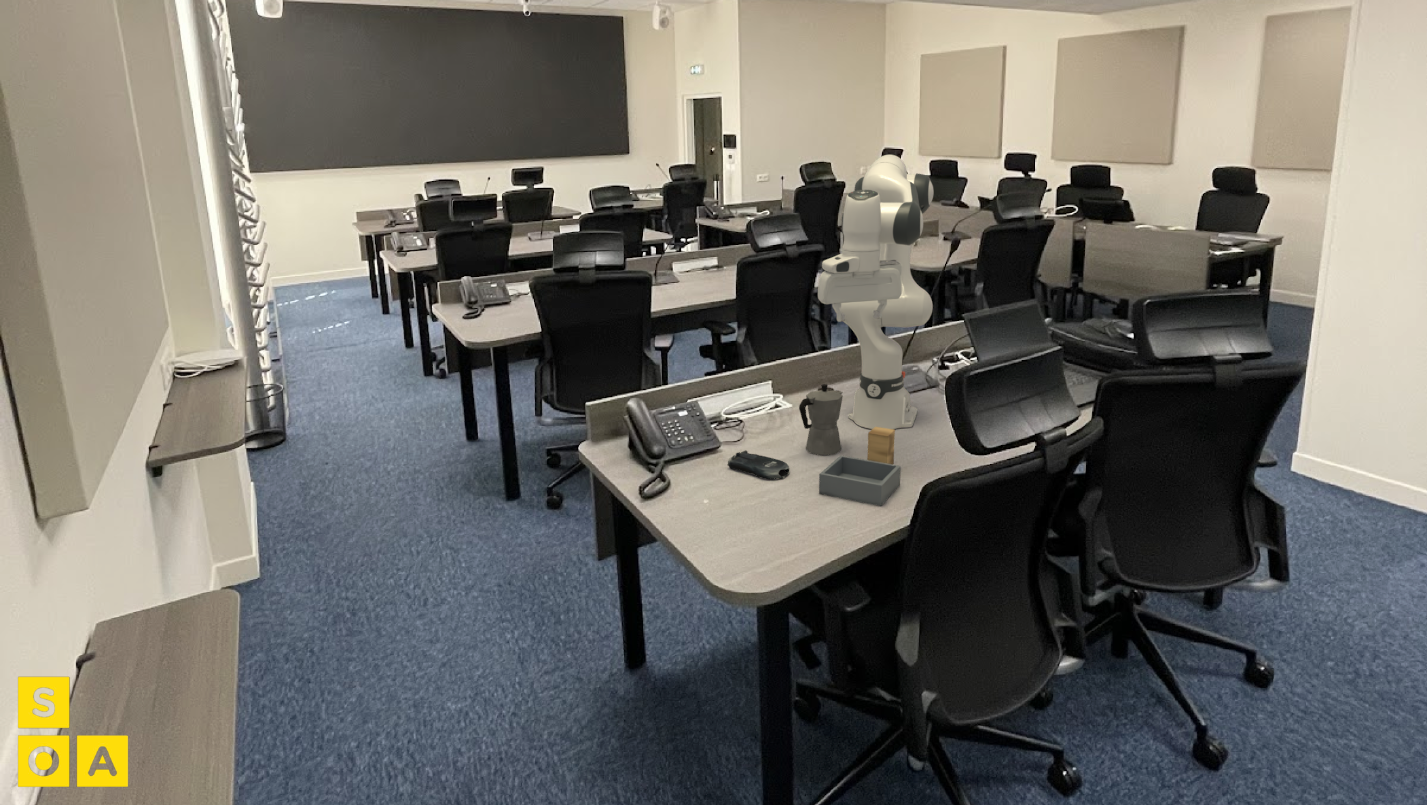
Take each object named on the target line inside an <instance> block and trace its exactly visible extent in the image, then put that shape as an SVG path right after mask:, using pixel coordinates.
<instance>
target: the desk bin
mask: <svg viewBox="0 0 1427 805" xmlns="http://www.w3.org/2000/svg"><path fill="white" fill-rule="evenodd" d="M818 476H819V478H818V481H819V482H818V494H819V495H824V496H828V497H834V498H839V499H843V500H847V501H848V500H849V501H853V502H858V503H863V504H868V505H874V506H878V507H882V506H883V505H884V504H885V502H886V501H887V500H888V499H889V498H890V497H891V496H892V495H893V493H895V491H896V490H897V489H898V488H899V487H900V485H901V484H900V483H901V465H897V464H888V463H882V462H876V461H871V460H867V459H864V458H859V457H852V456H847V455H843V454H841V455H839V456H838V457H837V458H836V459H834V461H832V462H831V463H830V464H829V465H828V466H826V467H825V468H824V469H823V470H822V471H820V472H819V475H818Z"/></svg>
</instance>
